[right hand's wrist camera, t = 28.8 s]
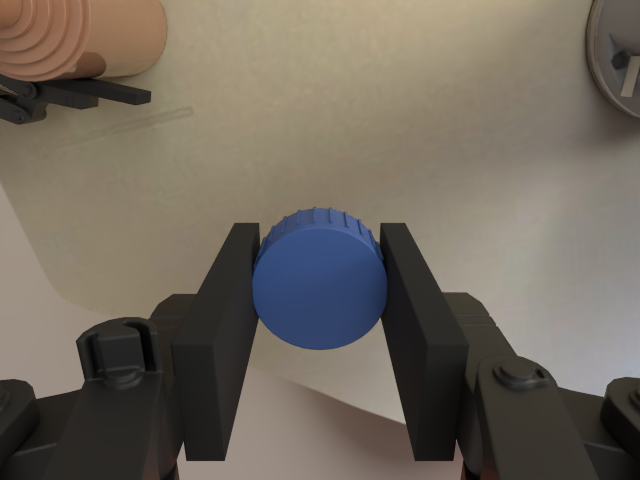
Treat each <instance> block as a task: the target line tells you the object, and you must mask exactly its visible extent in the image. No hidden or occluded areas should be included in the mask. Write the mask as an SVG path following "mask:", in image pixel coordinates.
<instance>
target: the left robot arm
mask: <svg viewBox="0 0 640 480" xmlns="http://www.w3.org/2000/svg"><path fill="white" fill-rule="evenodd" d="M0 83H1V84H2V85H4V86H5V87H7V88H9V89H10V90H12V91H13V92H15V93H17V94H18V95H19V96H17V95H14V94H12V93H9V92H6V91H4V90H1V89H0V118H1V119H4V120H7V121H9V122H12V123H15V124H19V125H20V124H26V123H31V122H36V121H40V120H44V119H45V118H46V115H47V114H46V110H45V109H46V106H47V104H48V103H53V104H58V105H62V106H67V107H72V108H76V109H87V108H92V107H97V106H98V97H100V98H104V99H109V100H114V101H118V102H123V103H128V104H132V105H140V104H144V103H149V102H150V101H151V91H147V90H142V89H138V88H133V87H129V86H124V85H119V84H115V83H110V82H106V81H101V80H96V79H92V78H85V79H69V80H52V81H22V80H17V79H13V78H10V77H7V76H5V75H2V74H0Z"/></svg>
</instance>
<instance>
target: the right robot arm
mask: <svg viewBox="0 0 640 480" xmlns="http://www.w3.org/2000/svg"><path fill="white" fill-rule="evenodd" d="M587 58H588V62H589V67H590V70H591V73H592V76H593V78H594V81H595V83H596V85H597V86H598V88H599V90H600V91H601V93H602V94H603V95H604V97H605V98H606V99H607V100H608V101H609V102H610V103H611V104H612V105H614V106H615V107H616V108H618V109H619V110H621V111H622V112H624V113H626V114H628V115H631V116H633V117H636V118H639V119H640V0H594V3H593V5H592V9H591V13H590V16H589V22H588V27H587ZM380 249H381V252H382V255H383V258H384V260H382V261H383V264H384V267H385V271H386V274H387V298H386V306H385V309H384V311H383V313H382V315H381V320H382V325H383V329H384V333H385V337H386V341H387V346H388V350H389V354H390V358H391V362H392V366H393V371H394V375H395V379H396V383H397V387H398V392H399V396H400V400H401V404H402V408H403V412H404V417H405V421H406V425H407V429H408V433H409V438H410V442H411V446H412V450H413V454H414V458H415V461H453V459H454V452H455V445H456V439H457V442H458V445H459V448H460V450H461V453H462V456H463V459H464V460H463V467H462V474H461V480H640V378H631V377H624V378H619V379H614V380H613V381H612V382H611V383H609V384H608V385H607V389H606V392H605V396H604V397H600V396H596V395H591V394H586V393H581V392H576V391H571V390H568V389H564V388H560V387H558V386H557V383H556V381H555V379H554V378H553V377H552V375H551V374H550V373H549V371H547V370H546V369H545V368H543V367H542V366H540V365H539V364H538V363H536V362H533V361H531V360H528V359H526V358H524V357H520V356H517V355H516V353H515V352H514V350H513V349H512V347H511V346H510V344H509V343H508V341H507V340H506V338H505V337H504V335H503V334H502V332H501V331H500V329H499V328H498V327H496V323H495V322H494V320H493V319H492V318H491V317H489V313H488V312H487V310H486V309H485V307H484V306H483V304H482V303H481V302H480V301H478V300H477V299H475V298H474V297H472V296H471V295H469V294H468V293H442V292H441V290H440V288H439V286H438V284H437V282H436V280H435V278H434V277H433V275H432V273H431V271H430V269H429V267H428V265H427V263H426V262H425V260H424V258H423V256H422V254H421V252H420V250H419V248H418V247H417V245H416V243H415V241H414V239H413V237H412V235H411V233H410V232H409V230H408V228H407V226H406V224H405V223H381V226H380ZM259 250H260V232H259V223H234V225H233V227H232V229H231V231H230V233H229V235H228V237H227V238H226V240H225V242H224V244H223V246H222V248H221V250H220V252H219V253H218V255H217V257H216V259H215V261H214V263H213V265H212V267H211V268H210V270H209V272H208V274H207V276H206V278H205V280H204V282H203V283H202V285H201V287H200V289H199V291H198V293H197V294H173V295H171V296H170V297H168V298H167V299H165V300H164V301H162V302H161V303H159V304H158V306H157V307H156V309H155V310H154V312H153V313H152V315H151V318H149V319H148V320H147V319H144V318H140V317H123V318H118V319H112V320H108V321H106V322H103V323H100V324H97V325H95V326H93V327H92V328H90V329H88V330H87V331H85V332H83V333H82V335H81V336H80V337H79V338H78V339H77V340H76V344H77V348H78V352H79V357H80V361H81V366H82V370H83V374H84V379H85V382H84V384H83V386H82V389H80V390H76V391H72V392H68V393H64V394H59V395H54V396H49V397H44V398H40V399H36V397H35V394H34V390H33V387H32V386H31V385H30V384H28V383H27V382H26V381H21V380H16V379H10V380H0V480H179V474H178V467H177V457H178V455H179V452H180V449H181V446H182V444H183V441H184V447H185V454H186V461H225V457H226V453H227V449H228V444H229V440H230V436H231V432H232V428H233V424H234V420H235V415H236V411H237V407H238V403H239V399H240V394H241V390H242V386H243V382H244V378H245V374H246V369H247V365H248V361H249V357H250V353H251V348H252V344H253V340H254V336H255V332H256V328H257V323H258V319H259V316H258V314H257V312H256V310H255V307H254V302H253V286H252V276H253V273H254V265H255V261H256V258H257V255H258V252H259Z"/></svg>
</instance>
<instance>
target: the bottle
mask: <svg viewBox="0 0 640 480" xmlns="http://www.w3.org/2000/svg"><path fill="white" fill-rule="evenodd" d="M166 37H167V22H166V16H165V12H164V9H163V6H162V4H161V2H160V0H0V74H2V75H5V76H7V77H10V78H13V79H17V80H22V81H52V80H69V79H85V78H102V77H118V76H131V75H136V74H139V73H142V72H144V71H146V70H147V69H149V68H150V67H151V66H152V65H154V63H155V62H156V61H157V60H158V59H159V57H160V55H161V54H162V51H163V49H164V46H165V43H166Z"/></svg>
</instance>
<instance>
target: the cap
mask: <svg viewBox="0 0 640 480" xmlns="http://www.w3.org/2000/svg"><path fill="white" fill-rule="evenodd" d="M382 260H384V258H383V255H382V252H381V249H380V246H379V243H378V241H377V242H376V241H375V239H374V237H373V235H372V232H371V230H370V229H369V230H368V229H367V228H366V227H365V226H364V225H363V224H362V223H361V220H359V219H358V220H356V219H355V218H353V217H352V216H350V215H347V212H344V213H343V212H340V211H336V210H332V208H329V209H322V208H317V209H316V207H313V209H308V210H303V211H301V210H298V212H297V213H294V214H292V215H290V216H288V217H286V216H285V217H284V218H283V220H282V221H280V222H279V223H278V224H277V225H276V226H274V225H273V226H272V228H271V231H270V232H269V234H268V235H267V237H264V238H263V241H262V244H261V247H260V250H259V252H258V255H257V258H256V261H255V265H254V273H253V276H252V286H253V302H254V307H255V310H256V312H257V314H258V316H259V317H260V319H261V321H262V322H263V323H264V325H265V326H266V327H267V328H268V329H269V330H270V331H271V332H272V333H273V334H275V335H276V336H277V337H279V338H280V339H282V340H284V341H285V342H287V343H290V344H292V345H295V346H298V347H301V348H306V349H313V350H326V349H334V348H338V347H342V346H345V345H348V344H350V343H352V342H354V341H356V340H358V339H360V338H361V337H362V336H364V335H365V334H366V333H368V332H369V331H370V330H371V329H372V328H373V327H374V325H375V324H376V323H377V322H378V320H379V319H380V317H381V315H382V313H383V311H384V309H385V306H386V298H387V274H386V271H385V267H384V264H383V261H382Z"/></svg>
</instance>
